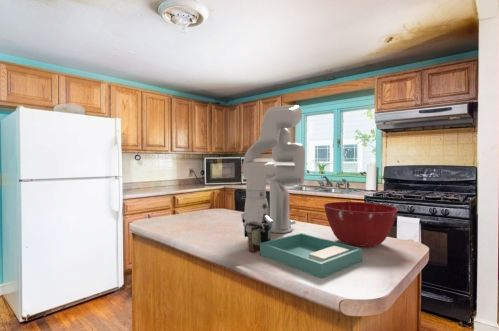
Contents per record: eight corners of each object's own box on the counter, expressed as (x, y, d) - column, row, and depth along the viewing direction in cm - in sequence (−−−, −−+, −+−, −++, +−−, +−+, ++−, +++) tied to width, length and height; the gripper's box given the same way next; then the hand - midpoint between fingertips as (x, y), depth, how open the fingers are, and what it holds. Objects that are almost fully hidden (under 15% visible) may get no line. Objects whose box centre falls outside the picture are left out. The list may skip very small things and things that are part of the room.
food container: (261, 244, 116) (261, 219, 115) (272, 247, 111) (272, 221, 111) (238, 250, 107) (238, 224, 107) (250, 254, 103) (250, 227, 102)
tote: (301, 245, 114) (301, 232, 114) (362, 263, 94) (362, 248, 94) (259, 257, 100) (260, 243, 100) (321, 281, 80) (321, 264, 80)
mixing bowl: (342, 231, 137) (342, 199, 137) (407, 242, 117) (407, 205, 117) (310, 243, 117) (310, 206, 116) (383, 260, 97) (383, 215, 97)
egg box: (334, 256, 97) (334, 245, 97) (350, 261, 93) (350, 249, 93) (307, 266, 88) (307, 253, 88) (324, 272, 84) (324, 259, 84)
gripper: (279, 196, 104) (278, 242, 105) (249, 192, 118) (249, 233, 118) (263, 197, 100) (263, 246, 100) (234, 193, 113) (234, 236, 113)
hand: (255, 239), depth 109 cm, fingers open, 9 cm apart
